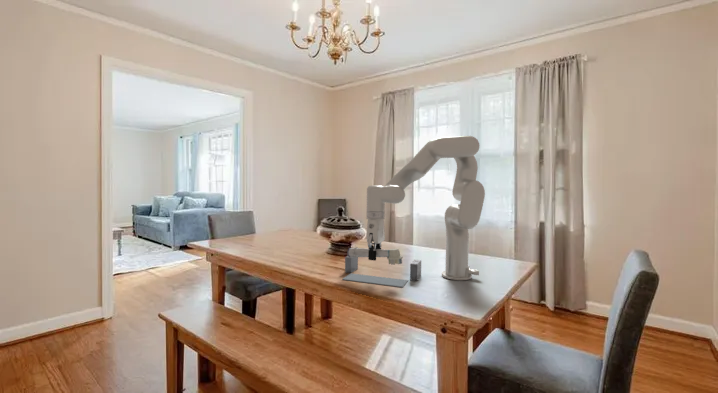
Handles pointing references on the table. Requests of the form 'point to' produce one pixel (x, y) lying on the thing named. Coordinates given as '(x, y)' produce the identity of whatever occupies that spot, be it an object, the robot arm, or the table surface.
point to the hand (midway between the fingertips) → (374, 257)
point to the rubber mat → (376, 280)
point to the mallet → (377, 254)
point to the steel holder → (415, 267)
